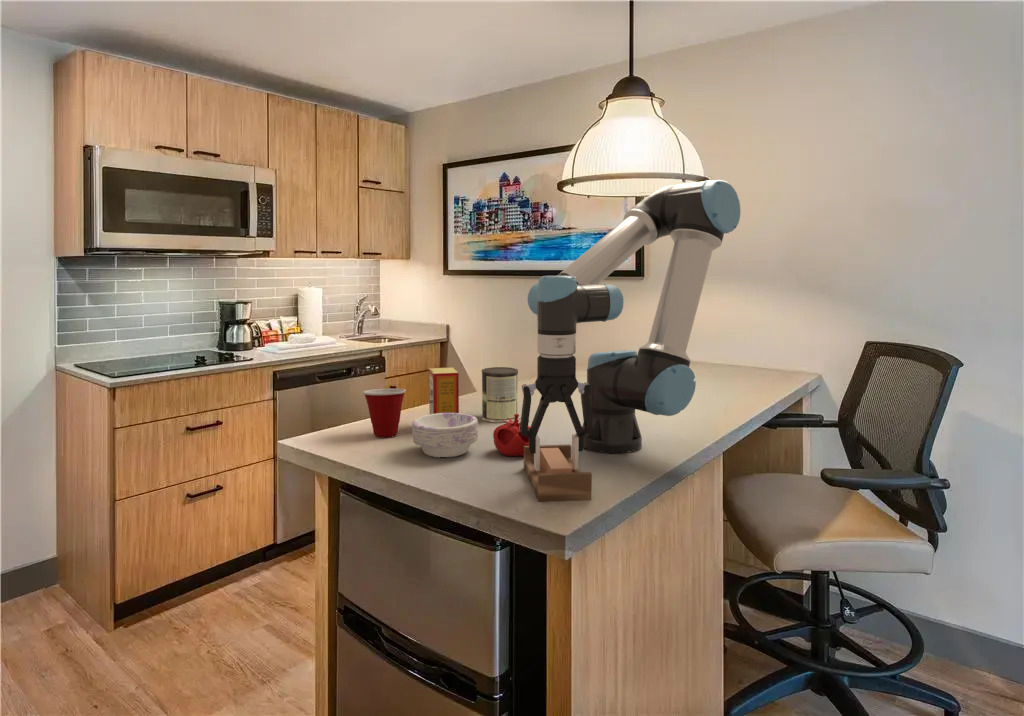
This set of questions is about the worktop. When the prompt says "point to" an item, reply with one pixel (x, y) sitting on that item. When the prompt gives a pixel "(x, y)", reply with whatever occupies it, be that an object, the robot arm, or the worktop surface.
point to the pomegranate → (510, 438)
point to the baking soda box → (443, 390)
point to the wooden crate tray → (558, 479)
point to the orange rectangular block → (553, 461)
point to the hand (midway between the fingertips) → (556, 467)
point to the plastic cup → (385, 410)
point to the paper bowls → (445, 433)
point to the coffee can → (499, 394)
